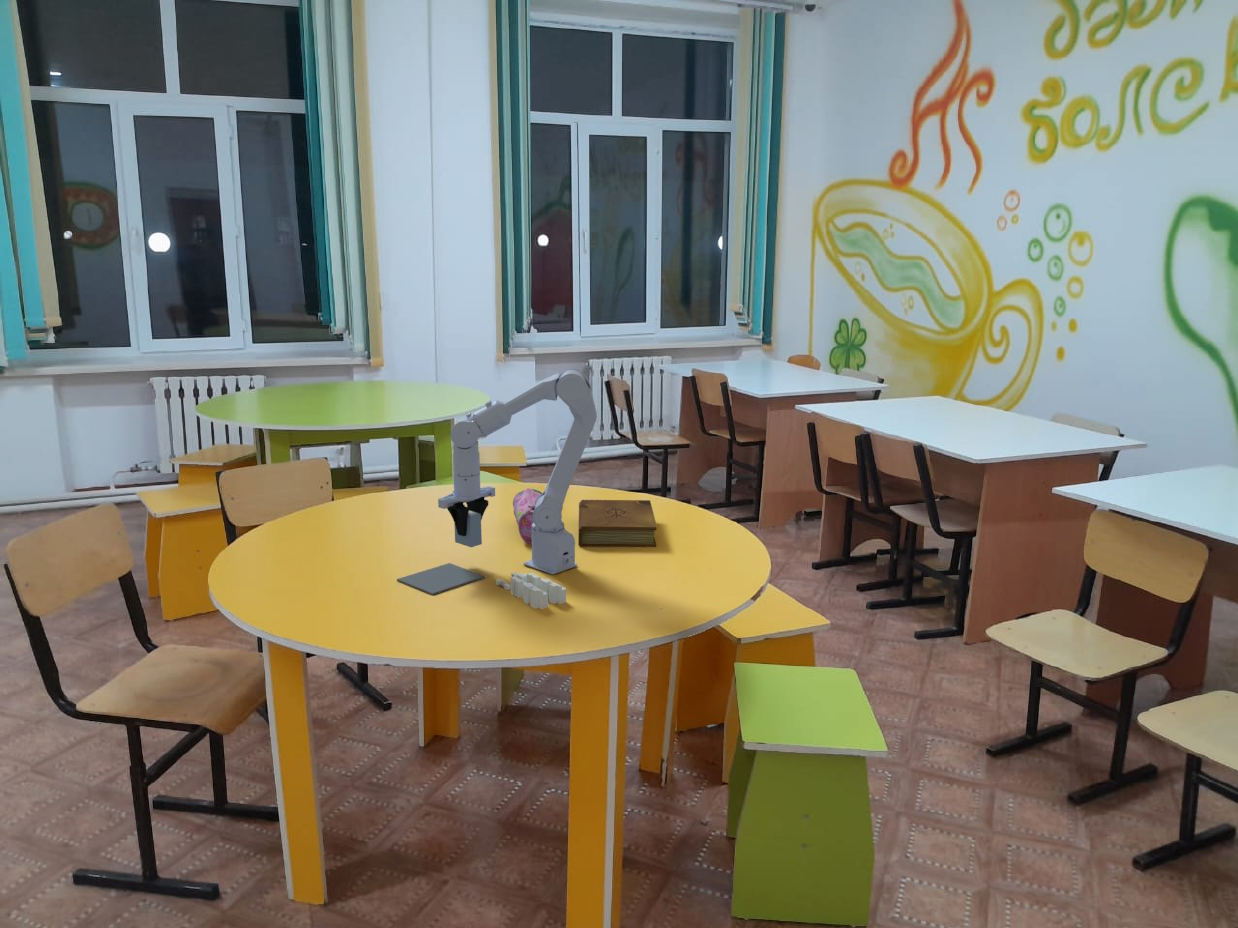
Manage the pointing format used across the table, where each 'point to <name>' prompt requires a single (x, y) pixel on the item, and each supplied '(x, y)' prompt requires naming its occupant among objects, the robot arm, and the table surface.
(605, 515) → the diary
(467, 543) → the block
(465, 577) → the mat
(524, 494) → the pencil case
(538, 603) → the modular blocks
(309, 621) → the table surface
